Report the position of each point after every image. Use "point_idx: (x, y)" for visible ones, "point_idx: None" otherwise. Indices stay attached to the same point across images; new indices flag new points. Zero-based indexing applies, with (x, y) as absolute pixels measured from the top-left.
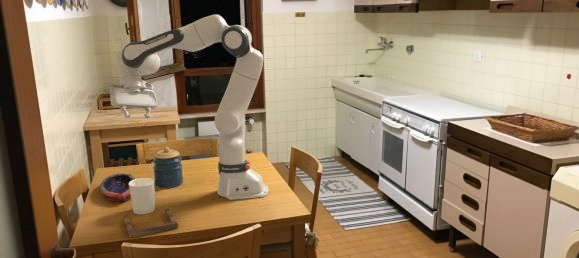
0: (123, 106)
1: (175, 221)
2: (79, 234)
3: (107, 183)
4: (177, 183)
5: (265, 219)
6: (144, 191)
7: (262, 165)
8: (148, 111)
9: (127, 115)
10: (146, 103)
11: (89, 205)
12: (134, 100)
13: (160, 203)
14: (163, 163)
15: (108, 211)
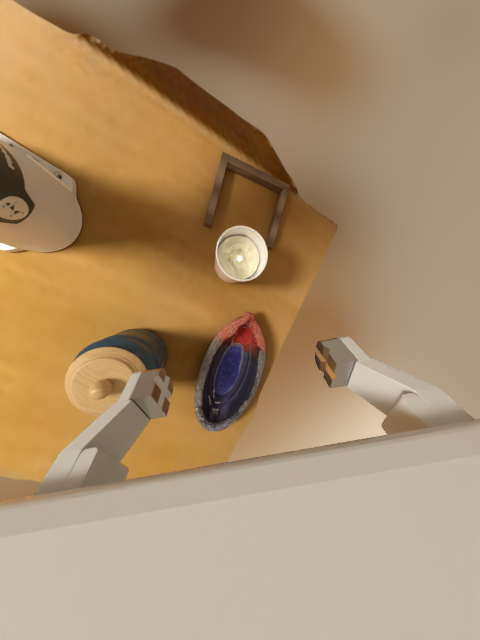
0: (455, 405)
1: (222, 160)
2: (324, 254)
3: (238, 403)
4: (129, 329)
5: (68, 36)
6: (245, 232)
7: None
8: (114, 426)
9: (346, 339)
10: (64, 547)
11: (282, 343)
12: (351, 585)
13: (197, 273)
14: (141, 347)
15: (271, 301)
